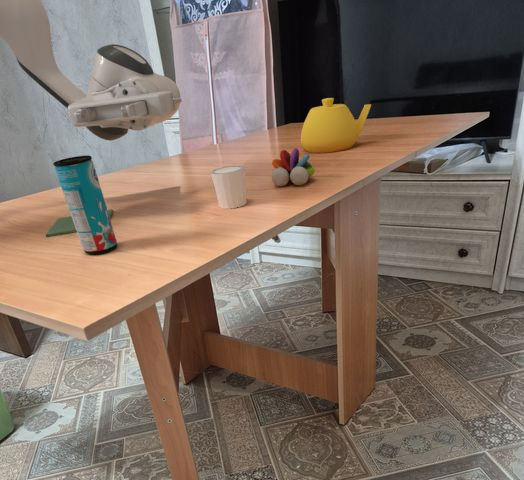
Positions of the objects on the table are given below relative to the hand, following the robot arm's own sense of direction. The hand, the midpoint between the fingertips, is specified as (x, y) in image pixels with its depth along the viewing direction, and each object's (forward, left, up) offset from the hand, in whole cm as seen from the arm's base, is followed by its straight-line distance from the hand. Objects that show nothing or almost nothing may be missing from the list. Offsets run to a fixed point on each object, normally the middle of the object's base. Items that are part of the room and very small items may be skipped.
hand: (101, 114), depth 81 cm
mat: (-11, +9, -20) cm, 25 cm away
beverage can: (-4, -11, -20) cm, 23 cm away
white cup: (+21, +4, -20) cm, 29 cm away
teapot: (+56, +49, -20) cm, 76 cm away
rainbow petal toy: (+36, +14, -20) cm, 43 cm away
